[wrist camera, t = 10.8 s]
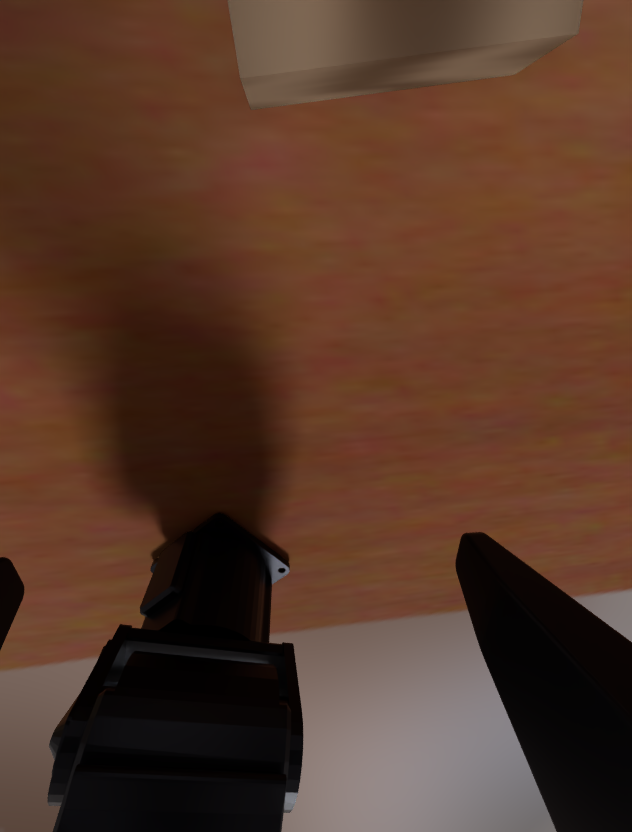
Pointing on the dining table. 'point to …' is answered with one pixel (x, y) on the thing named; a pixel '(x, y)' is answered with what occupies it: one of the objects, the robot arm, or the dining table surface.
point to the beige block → (387, 44)
